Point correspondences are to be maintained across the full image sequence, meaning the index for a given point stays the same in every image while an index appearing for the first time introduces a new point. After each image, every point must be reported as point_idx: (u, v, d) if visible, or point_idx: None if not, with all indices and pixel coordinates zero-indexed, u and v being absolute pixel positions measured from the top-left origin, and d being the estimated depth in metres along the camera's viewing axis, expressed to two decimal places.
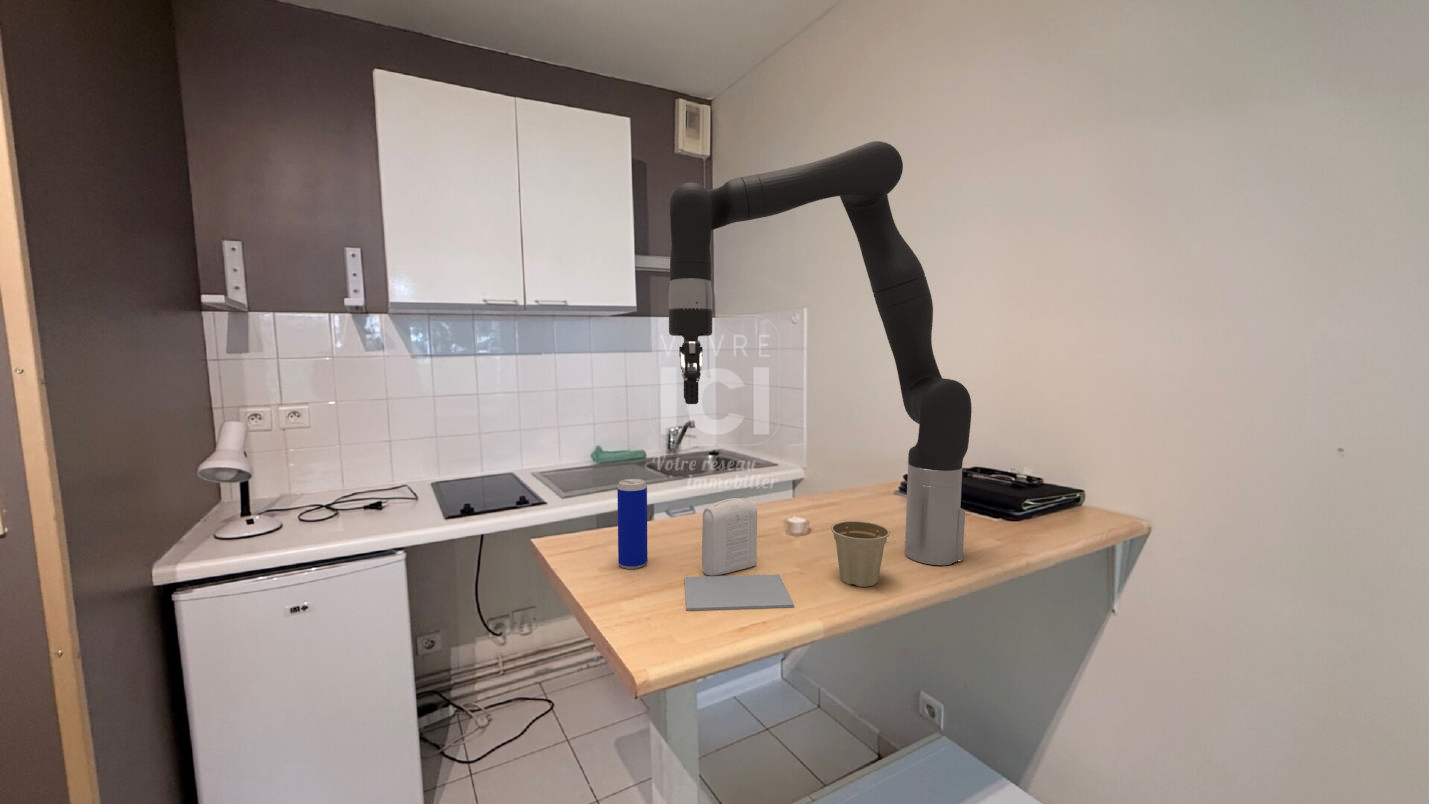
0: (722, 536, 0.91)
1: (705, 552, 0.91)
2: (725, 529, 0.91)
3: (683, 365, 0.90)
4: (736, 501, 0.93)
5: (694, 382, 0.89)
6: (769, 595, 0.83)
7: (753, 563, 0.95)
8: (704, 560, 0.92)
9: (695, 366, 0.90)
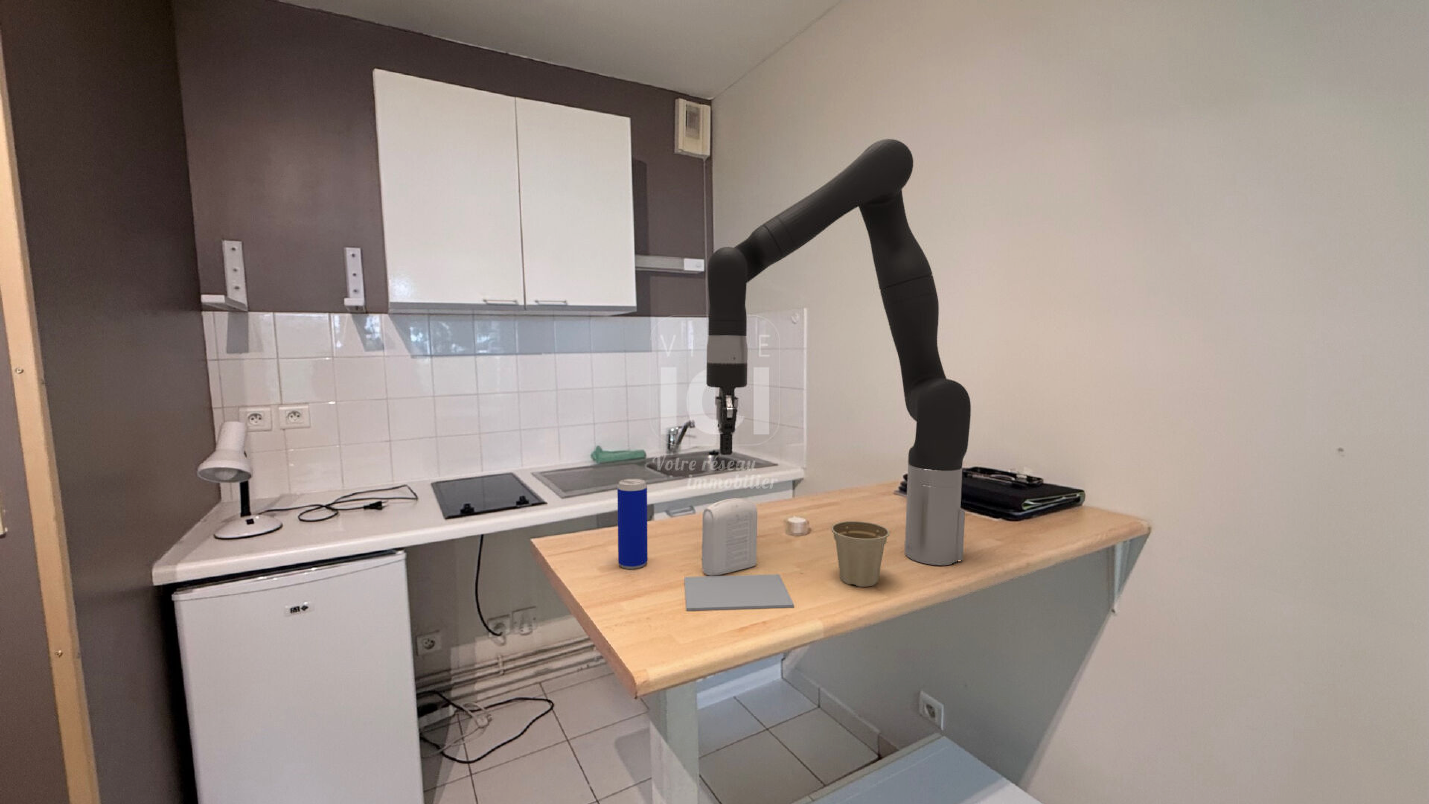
0: (722, 536, 0.91)
1: (705, 552, 0.91)
2: (725, 529, 0.91)
3: (719, 421, 0.98)
4: (736, 501, 0.93)
5: (729, 436, 0.99)
6: (769, 595, 0.83)
7: (753, 563, 0.95)
8: (704, 560, 0.92)
9: None
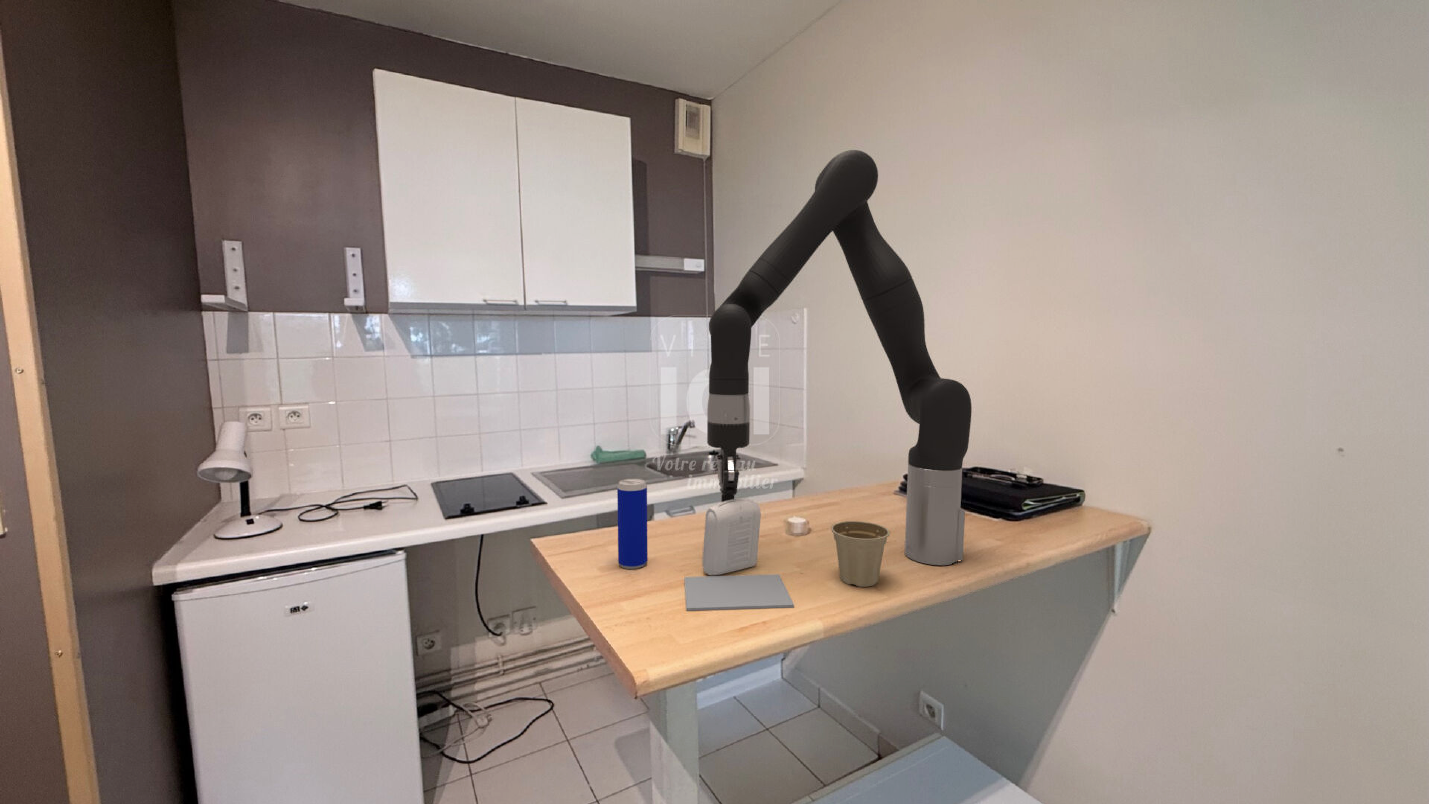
0: (725, 537, 0.90)
1: (707, 551, 0.91)
2: (728, 530, 0.90)
3: (721, 481, 0.95)
4: (740, 502, 0.92)
5: (730, 496, 0.95)
6: (769, 595, 0.83)
7: (753, 563, 0.95)
8: (705, 559, 0.91)
9: None
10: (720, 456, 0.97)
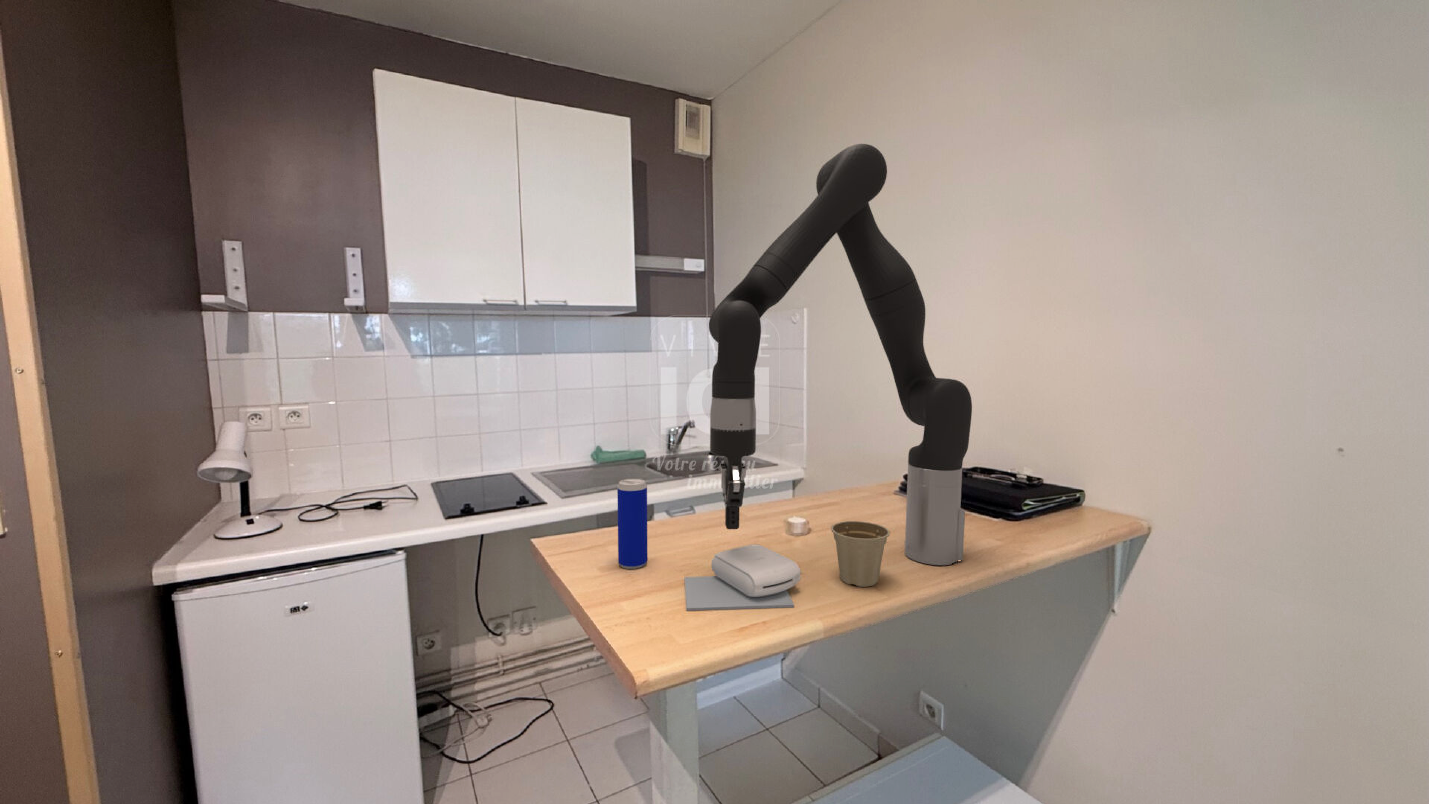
0: None
1: (724, 573, 0.86)
2: None
3: (725, 492, 0.88)
4: (784, 588, 0.83)
5: (735, 508, 0.88)
6: (769, 595, 0.83)
7: None
8: (718, 567, 0.88)
9: None
10: (724, 465, 0.90)
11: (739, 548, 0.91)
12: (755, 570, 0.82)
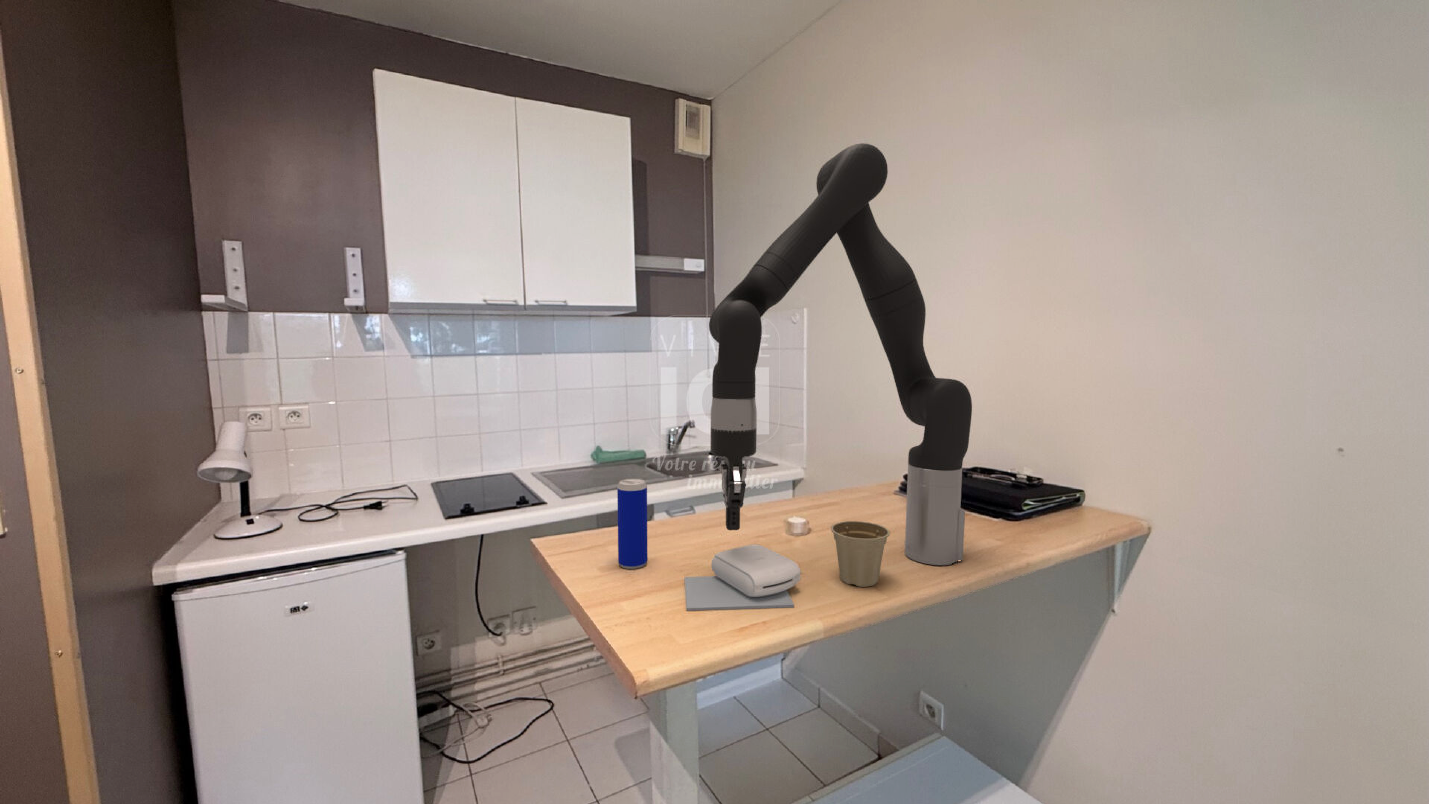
0: None
1: (724, 573, 0.86)
2: None
3: (725, 493, 0.87)
4: (784, 588, 0.83)
5: (736, 509, 0.88)
6: (769, 595, 0.83)
7: None
8: (718, 567, 0.88)
9: None
10: (724, 465, 0.89)
11: (739, 548, 0.91)
12: (755, 570, 0.82)
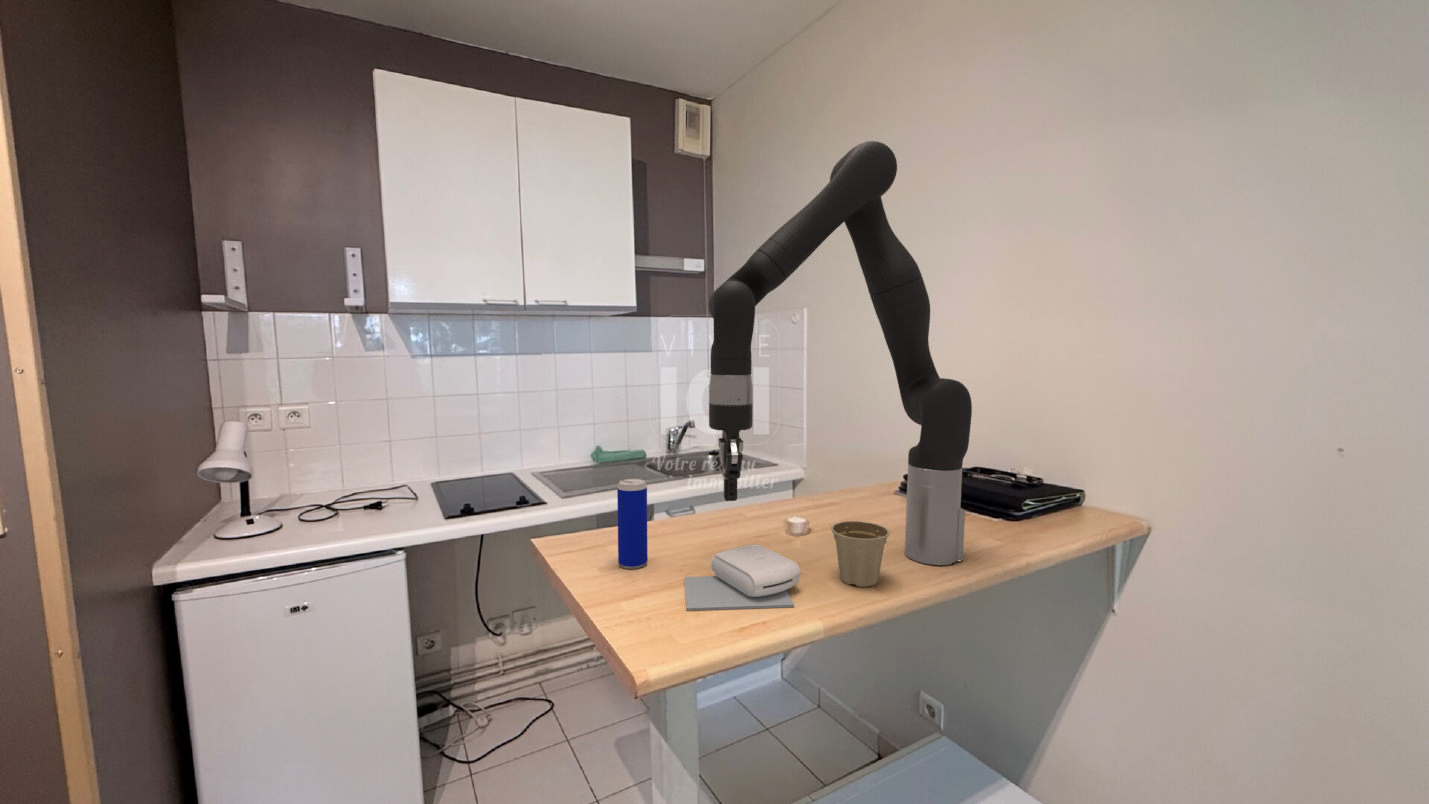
0: None
1: (724, 573, 0.86)
2: None
3: (723, 465, 0.92)
4: (784, 588, 0.83)
5: (733, 481, 0.92)
6: (769, 595, 0.83)
7: None
8: (718, 567, 0.88)
9: None
10: (722, 439, 0.94)
11: (739, 548, 0.91)
12: (755, 570, 0.82)
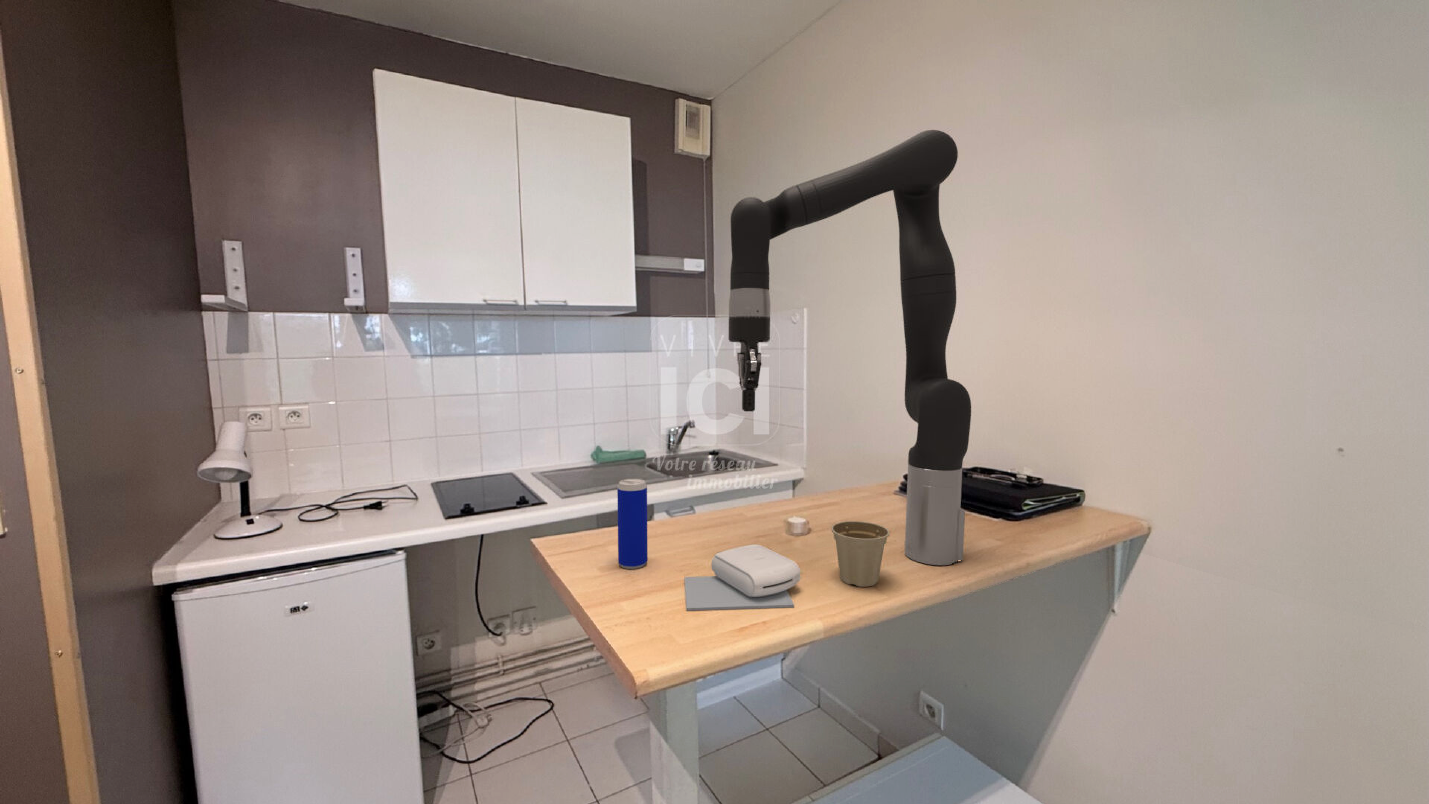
0: None
1: (724, 573, 0.86)
2: None
3: (742, 376, 0.97)
4: (784, 588, 0.83)
5: (752, 391, 0.97)
6: (769, 595, 0.83)
7: None
8: (718, 567, 0.88)
9: None
10: None
11: (739, 548, 0.91)
12: (755, 570, 0.82)
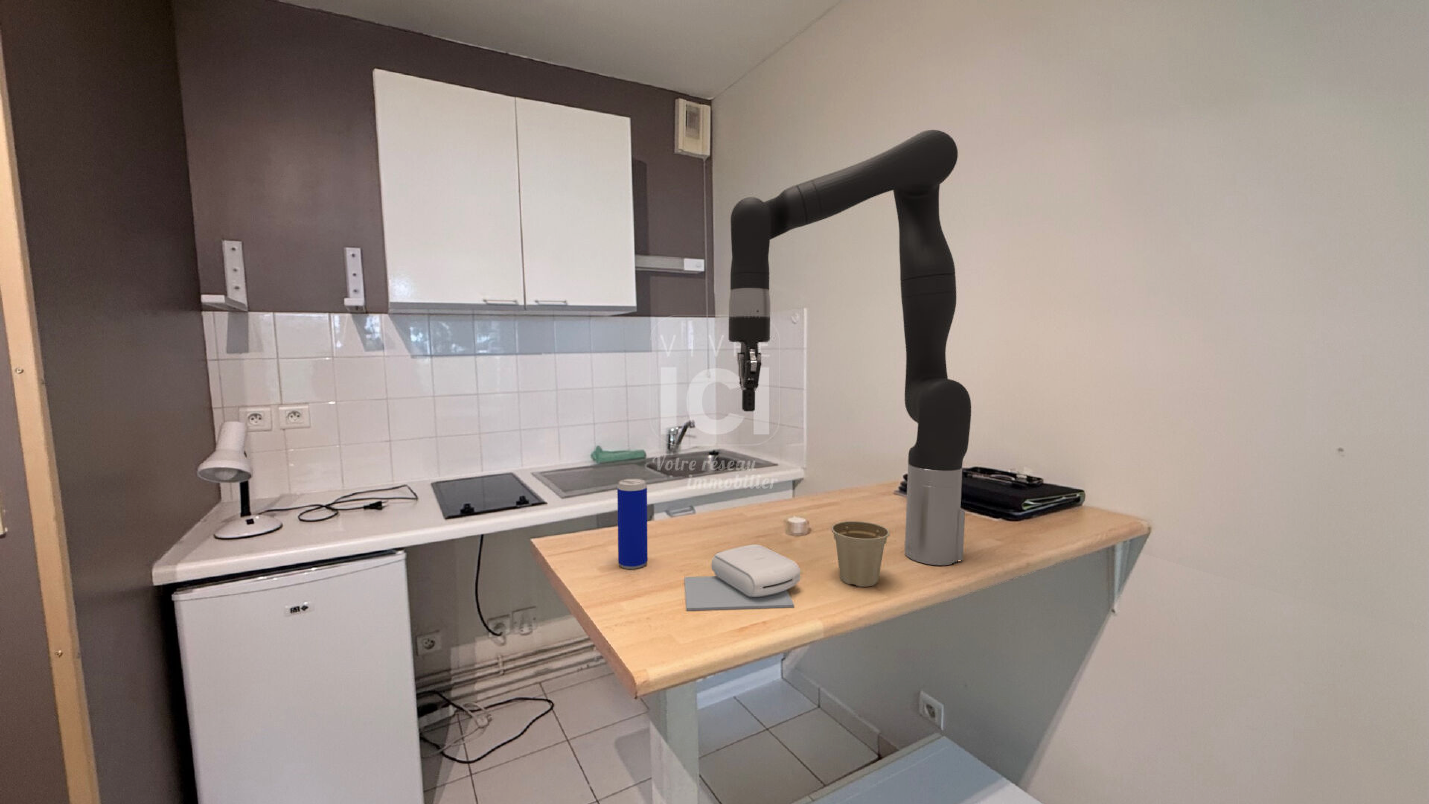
0: None
1: (724, 573, 0.86)
2: None
3: (742, 376, 0.97)
4: (784, 588, 0.83)
5: (752, 391, 0.97)
6: (769, 595, 0.83)
7: None
8: (718, 567, 0.88)
9: None
10: None
11: (739, 548, 0.91)
12: (755, 570, 0.82)
